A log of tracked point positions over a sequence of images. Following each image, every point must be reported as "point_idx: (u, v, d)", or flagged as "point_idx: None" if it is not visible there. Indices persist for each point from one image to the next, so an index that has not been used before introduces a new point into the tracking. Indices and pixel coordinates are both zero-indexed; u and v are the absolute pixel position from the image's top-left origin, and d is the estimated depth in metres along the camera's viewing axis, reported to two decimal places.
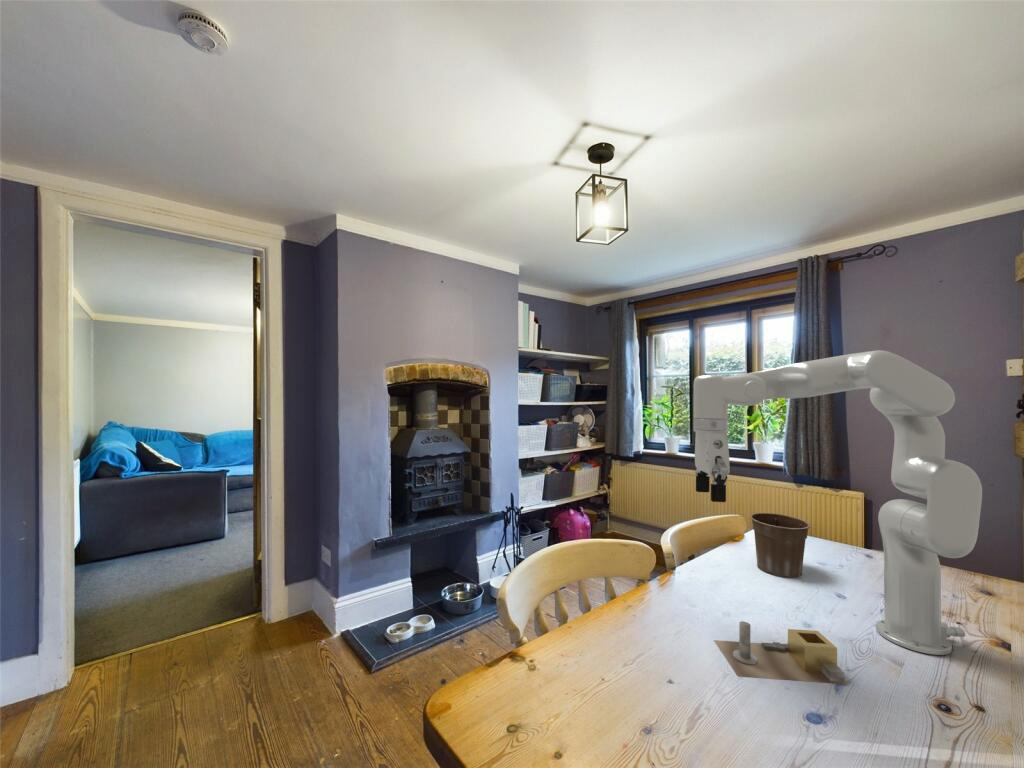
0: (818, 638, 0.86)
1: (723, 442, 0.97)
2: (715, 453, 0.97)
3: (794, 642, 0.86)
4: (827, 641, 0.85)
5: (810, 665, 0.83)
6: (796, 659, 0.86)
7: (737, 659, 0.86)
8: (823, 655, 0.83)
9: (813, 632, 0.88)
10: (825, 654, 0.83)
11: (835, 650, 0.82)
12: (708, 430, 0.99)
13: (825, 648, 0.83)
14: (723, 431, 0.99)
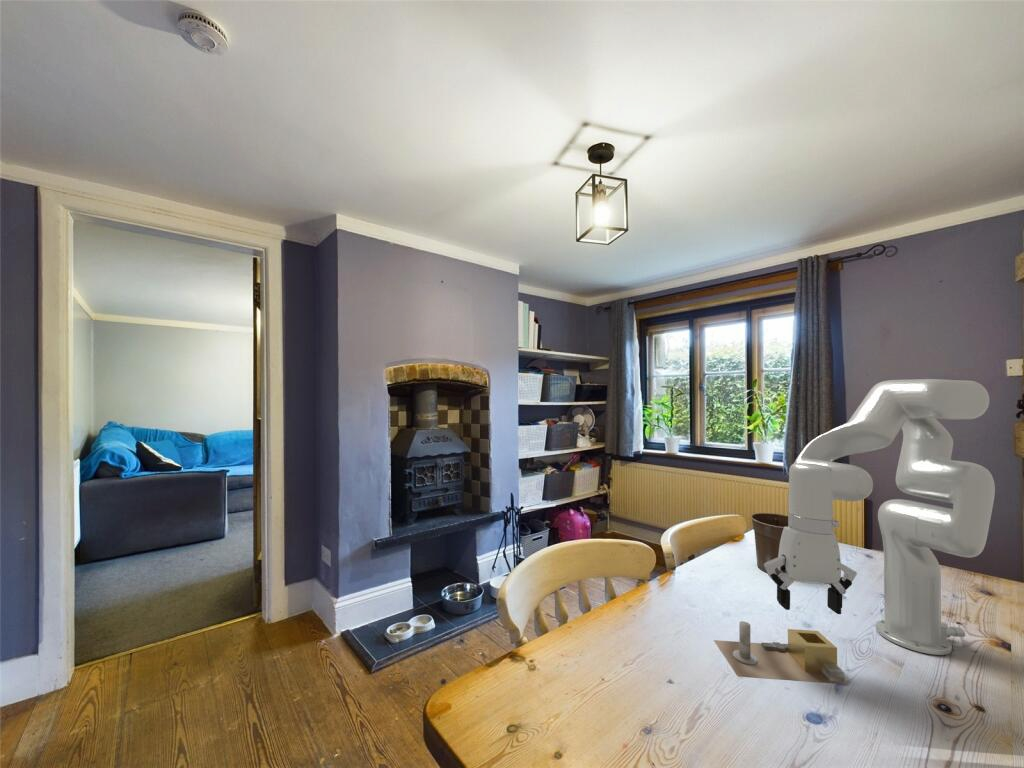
0: (818, 638, 0.86)
1: None
2: None
3: (794, 642, 0.86)
4: (827, 641, 0.85)
5: (810, 665, 0.83)
6: (796, 659, 0.86)
7: (737, 659, 0.86)
8: (823, 655, 0.83)
9: (813, 632, 0.88)
10: (825, 654, 0.83)
11: (835, 650, 0.82)
12: None
13: (825, 648, 0.83)
14: None
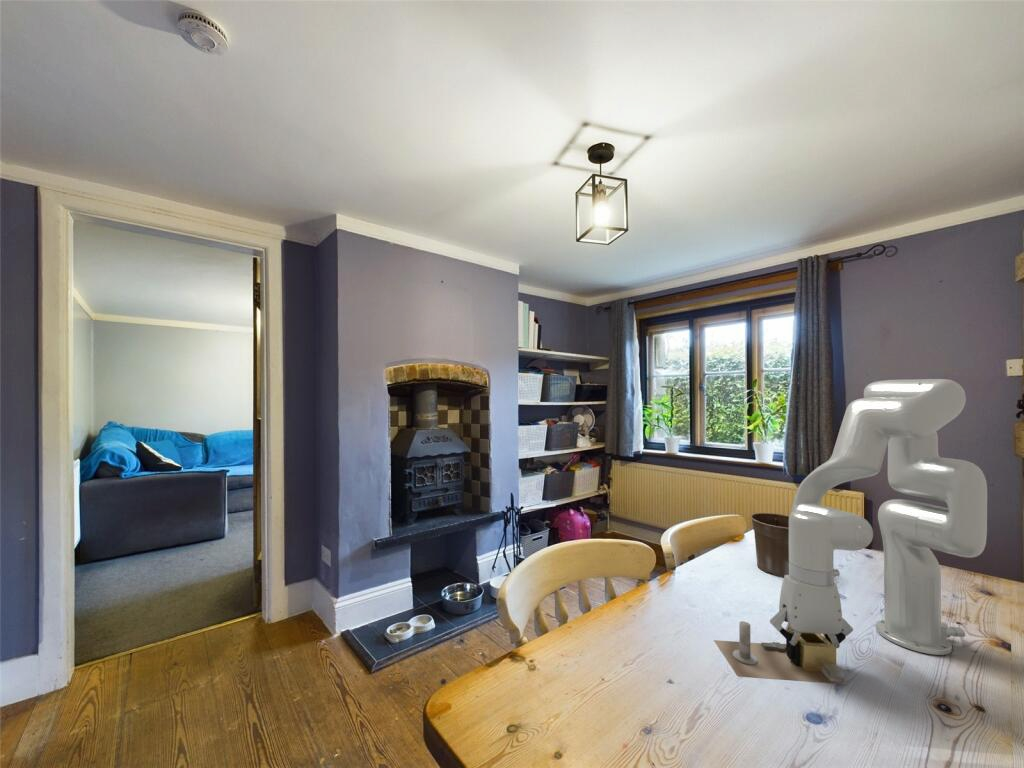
0: (817, 638, 0.86)
1: None
2: None
3: None
4: (826, 641, 0.85)
5: (809, 665, 0.83)
6: None
7: (737, 659, 0.86)
8: (822, 655, 0.83)
9: None
10: (824, 654, 0.83)
11: (834, 650, 0.82)
12: None
13: (824, 648, 0.83)
14: None
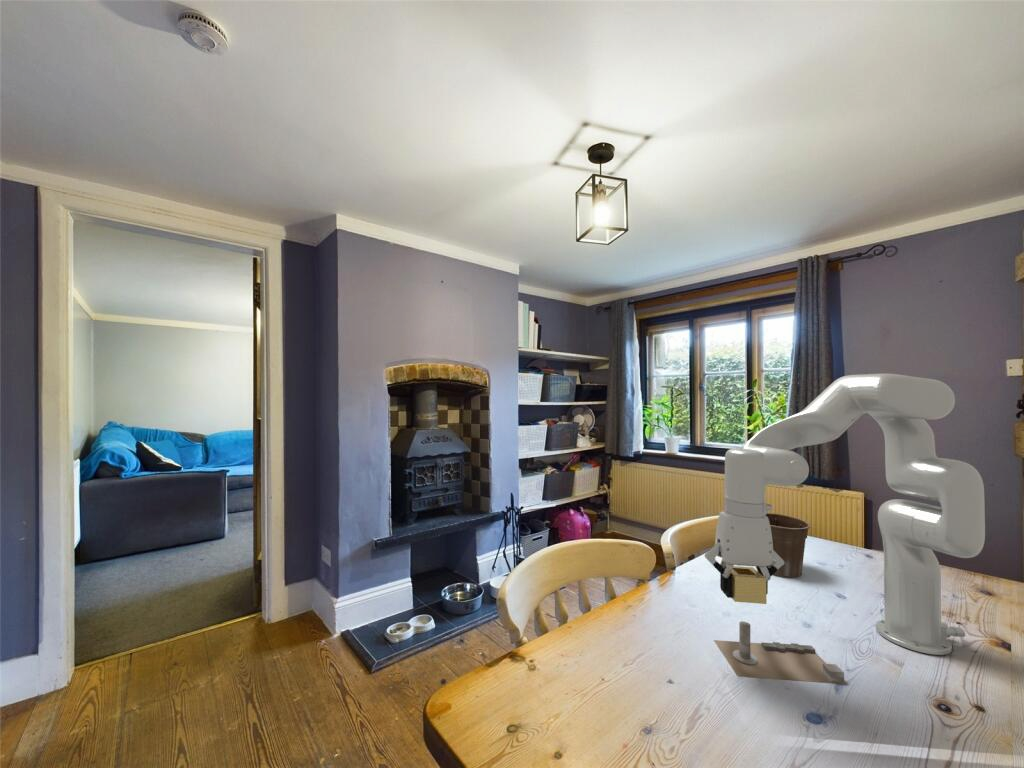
0: (751, 572, 0.88)
1: None
2: None
3: None
4: (758, 574, 0.86)
5: (740, 596, 0.84)
6: None
7: (737, 659, 0.86)
8: (753, 585, 0.84)
9: (747, 568, 0.89)
10: (755, 584, 0.84)
11: (764, 581, 0.84)
12: None
13: (755, 579, 0.84)
14: None
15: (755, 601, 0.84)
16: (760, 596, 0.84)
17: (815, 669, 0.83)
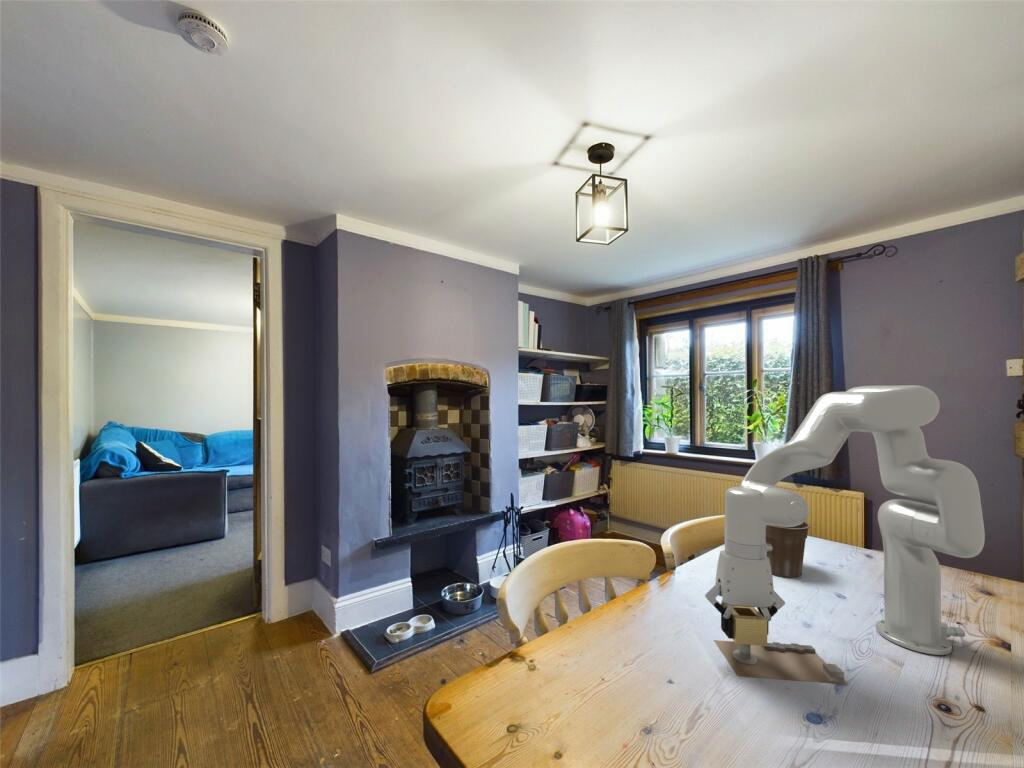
0: (752, 612, 0.87)
1: None
2: None
3: None
4: (759, 614, 0.86)
5: (741, 637, 0.84)
6: None
7: (737, 659, 0.86)
8: (753, 627, 0.84)
9: (747, 607, 0.89)
10: (755, 626, 0.84)
11: (765, 622, 0.84)
12: (765, 556, 0.85)
13: (755, 620, 0.84)
14: None
15: (756, 643, 0.84)
16: (761, 638, 0.84)
17: (815, 669, 0.83)
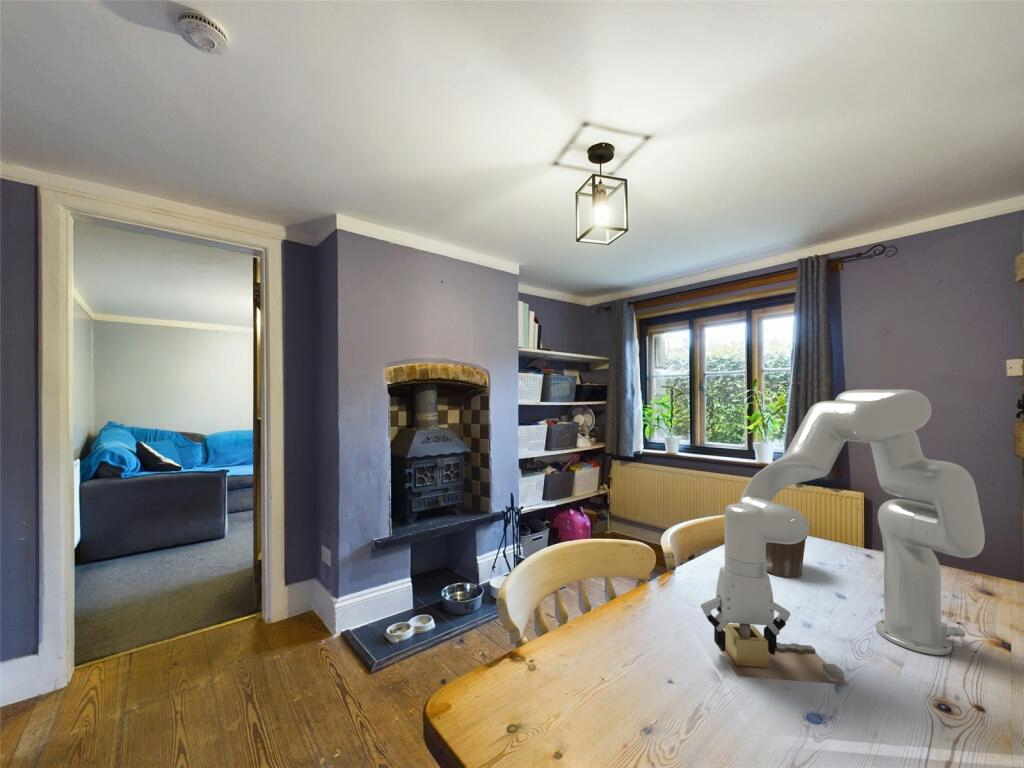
0: (752, 632, 0.87)
1: None
2: None
3: (729, 636, 0.87)
4: (760, 635, 0.86)
5: (742, 659, 0.84)
6: (730, 653, 0.87)
7: None
8: (754, 649, 0.84)
9: None
10: (756, 648, 0.84)
11: (766, 644, 0.83)
12: (765, 574, 0.85)
13: (756, 642, 0.84)
14: None
15: (757, 664, 0.84)
16: (762, 659, 0.83)
17: (815, 669, 0.83)
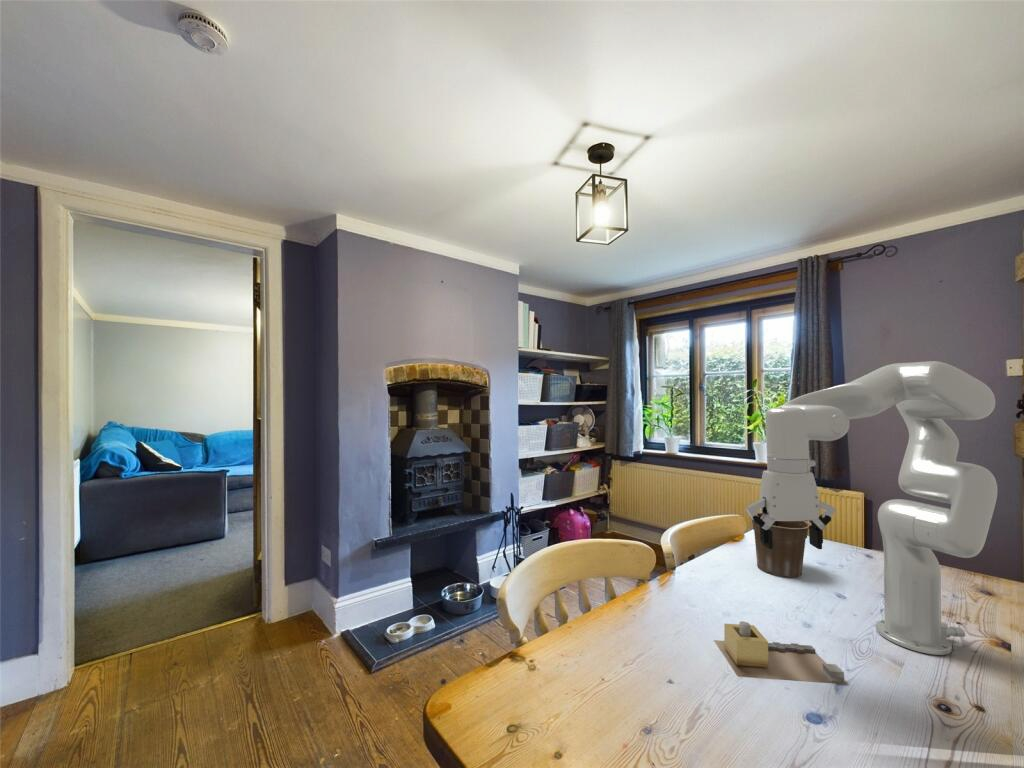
0: (752, 632, 0.87)
1: None
2: None
3: (729, 636, 0.87)
4: (760, 635, 0.86)
5: (742, 659, 0.84)
6: (730, 653, 0.87)
7: None
8: (754, 649, 0.84)
9: None
10: (756, 648, 0.84)
11: (766, 644, 0.83)
12: (809, 471, 0.87)
13: (756, 642, 0.84)
14: None
15: (757, 664, 0.84)
16: (762, 659, 0.83)
17: (815, 669, 0.83)
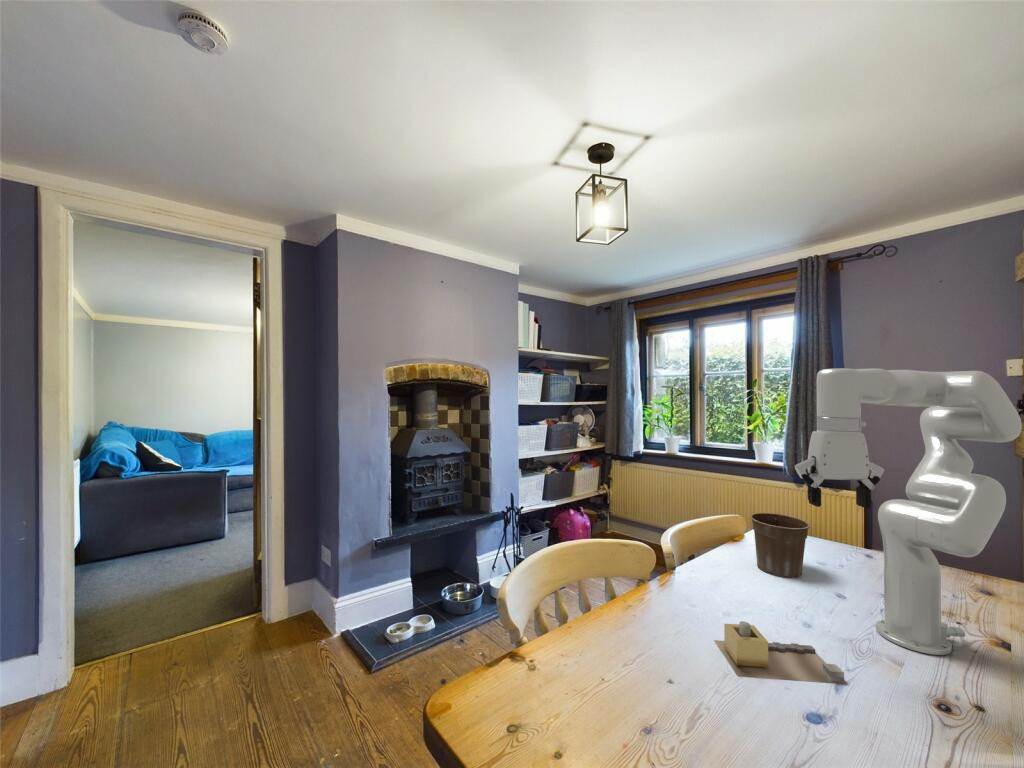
0: (752, 632, 0.87)
1: None
2: None
3: (729, 636, 0.87)
4: (760, 635, 0.86)
5: (742, 659, 0.84)
6: (730, 653, 0.87)
7: None
8: (754, 649, 0.84)
9: None
10: (756, 648, 0.84)
11: (766, 644, 0.83)
12: None
13: (756, 642, 0.84)
14: None
15: (757, 664, 0.84)
16: (762, 659, 0.83)
17: (815, 669, 0.83)
